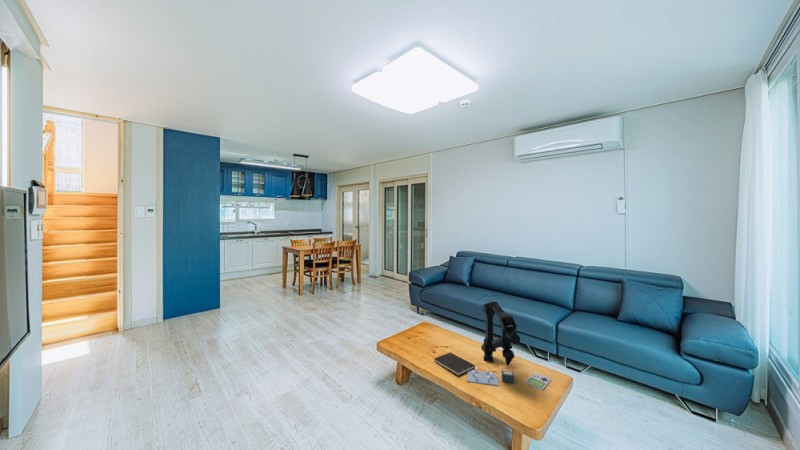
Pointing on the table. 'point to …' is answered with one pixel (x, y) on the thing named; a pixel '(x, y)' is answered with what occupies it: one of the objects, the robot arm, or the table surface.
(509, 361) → the robot arm
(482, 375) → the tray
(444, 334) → the table surface
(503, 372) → the drive
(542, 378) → the handheld gaming console
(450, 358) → the hardcover book
